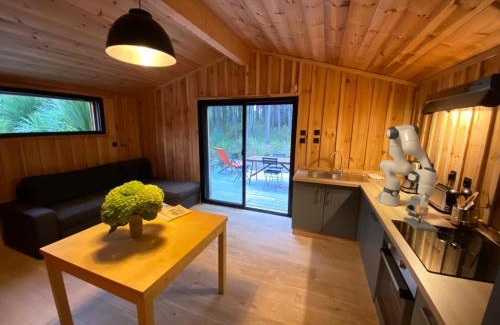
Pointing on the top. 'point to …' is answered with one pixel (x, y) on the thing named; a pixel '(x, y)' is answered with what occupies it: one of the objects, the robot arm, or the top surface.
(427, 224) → the junction plate
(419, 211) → the wire nut
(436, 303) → the top surface
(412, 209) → the circuit breaker
